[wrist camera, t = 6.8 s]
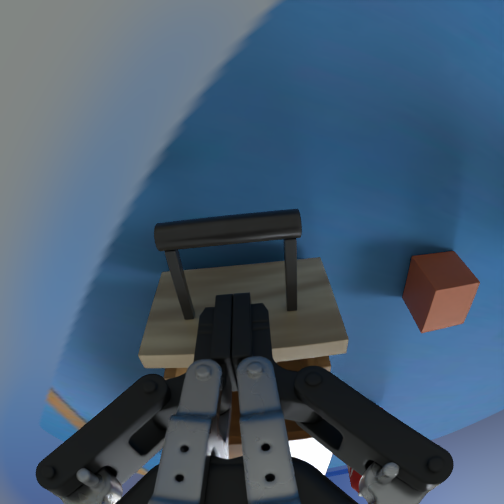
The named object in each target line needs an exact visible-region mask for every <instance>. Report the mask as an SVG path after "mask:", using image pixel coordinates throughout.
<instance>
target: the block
mask: <svg viewBox="0 0 504 504" xmlns="http://www.w3.org/2000/svg"><path fill="white" fill-rule="evenodd" d="M479 284H480V282H479V280H478V279H477V278H476V277H475V275H474V274H473V273H472V272H471V271H470V269H469V268H468V267H467V266H466V265H465V263H464V262H463V261H462V260H461V259H460V257H459V256H458V255H457V254H456V253H455V252H454V251H449V252H441V253H433V254H425V255H416V256H412V257H411V262H410V267H409V271H408V276H407V280H406V284H405V288H404V292H403V296H402V298H403V300H404V302H405V304H406V305H407V307H408V309H409V311H410V313H411V315H412V316H413V318H414V320H415V322H416V324H417V326H418V328H419V330H420V332H421V333H424V332H429V331H433V330H438V329H442V328H446V327H450V326H455V325H459V324H462V323H464V321H465V318H466V316H467V314H468V311H469V309H470V307H471V304H472V302H473V299H474V297H475V294H476V292H477V289H478V286H479Z"/></svg>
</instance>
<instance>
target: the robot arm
mask: <svg viewBox="0 0 504 504" xmlns="http://www.w3.org/2000/svg"><path fill="white" fill-rule="evenodd" d="M232 391H238V395H239V406H240V418H239V419H240V432H241V442H242V452H243V456H240V457H236V458H232V459H229V450H228V442H229V432H230V422H231V413H232V404H231V403H232ZM284 419H287V420H292V421H295V422H296V424H297V425H298V426H300V427H301V428H302V429H303V430H304V431H306V432H307V433H308V434H309V435H310V436H312V437H313V438H314V439H315V440H316V441H318V442H319V443H320V444H321V445H323V446H324V447H325V448H326V449H328V450H329V451H330V452H331V453H333V454H334V455H335V456H337V457H338V458H339V459H340V460H342V461H343V462H344V463H346V464H347V465H348V466H350V467H351V468H352V469H353V470H355V471H356V472H358V473H359V474H360V475H362V477H361V479H360V481H359V491H360V493H361V495H362V496H363V497H364V498H365V499H366V500H367V502H368V504H419V503H420V501H421V500H422V499H423V498H424V496H425V495H426V494H427V493H428V492H429V491H431V490H432V489H434V488H435V487H436V486H438V485H439V484H441V483H442V482H443V481H445V480H446V479H447V478H448V477H449V476H450V474H451V472H452V470H453V459H452V457H451V455H450V453H448V451H446V450H445V449H443V448H442V447H440V446H439V445H437V444H435V443H434V442H432V441H431V440H429V439H428V438H426V437H424V436H423V435H421V434H420V433H418V432H417V431H415V430H414V429H412V428H411V427H409V426H408V425H406V424H404V423H403V422H401V421H400V420H398V419H397V418H395V417H394V416H392V415H391V414H389V413H388V412H387V411H385V410H384V409H382V408H381V407H379V406H378V405H376V404H375V403H373V402H372V401H370V400H369V399H367V398H366V397H365V396H363V395H362V394H360V393H359V392H357V391H356V390H354V389H353V388H352V387H350V386H349V385H347V384H346V383H344V382H343V381H342V380H340V379H339V378H337V377H336V376H335V375H333V374H332V373H330V372H329V371H328V370H326V369H325V368H323V367H320V366H307V367H305V368H302V369H301V370H300V371H298V372H297V371H291V370H287V369H284V368H282V367H280V366H279V365H277V364H276V362H275V361H274V359H273V355H272V345H271V334H270V323H269V312H268V309H267V308H266V307H265V305H264V304H263V303H255V304H252V302H251V295H250V292H247V293H235V294H224V295H216V298H215V307H205V309H204V310H203V312H202V313H201V314H200V316H199V323H198V331H197V338H196V346H195V354H194V361H193V363H192V364H191V365H190V366H189V367H188V369H187V371H186V372H185V373H184V374H182V375H180V376H178V377H174V378H171V379H167V380H165V379H164V378H163V377H162V376H160V375H157V374H148V375H145V376H143V377H141V378H140V379H139V380H137V381H136V382H135V383H134V384H133V385H132V386H130V387H129V388H128V389H127V390H126V391H125V392H123V393H122V394H121V395H120V396H119V397H117V398H116V399H115V400H114V401H113V402H112V403H110V404H109V405H108V406H107V407H106V408H104V409H103V410H102V411H101V412H100V413H99V414H97V415H96V416H95V417H94V418H93V419H91V420H90V421H89V422H88V423H87V424H85V425H84V426H83V427H82V428H81V429H79V430H78V431H77V432H76V433H75V434H73V435H72V436H71V437H70V438H69V439H67V440H66V441H65V442H64V443H63V444H61V445H60V446H59V447H58V448H57V449H55V450H54V451H53V452H52V453H50V454H49V455H48V456H47V457H46V458H45V459H43V460H42V461H41V462H40V463H39V464H38V466H37V469H36V478H37V481H38V483H39V484H40V485H41V486H42V487H43V488H45V489H47V490H49V491H50V492H52V493H53V494H54V495H56V496H58V497H59V498H60V499H61V500H62V501H63V503H64V504H358V503H357V502H356V501H355V500H353V499H352V498H351V497H350V496H348V495H347V494H346V493H345V492H344V491H342V490H341V489H340V488H339V487H337V486H336V485H335V484H334V483H333V482H332V481H331V480H329V479H328V478H327V477H326V476H325V475H324V474H323V473H321V472H320V471H319V470H318V469H317V468H316V467H314V466H313V465H311V464H310V463H308V462H306V461H304V460H301V459H299V458H295V457H291V452H290V447H289V441H288V436H287V431H286V425H285V420H284ZM162 448H163V450H162V454H161V459H160V464H158V465H156V466H155V467H154V468H152V469H151V470H150V471H149V472H148V473H147V474H146V475H145V476H144V477H143V478H142V479H141V480H140V481H138V482H137V483H136V485H134V486H133V487H132V488H131V489H130V490H129V491H128V492H127V493H126V494H125V495H124V496H123V497H122V493H123V489H122V484H123V483H124V482H126V481H127V480H128V479H129V478H130V477H131V476H132V475H134V474H135V473H136V472H137V471H138V470H139V469H140V468H141V467H142V466H143V465H145V464H146V463H147V462H148V461H149V460H150V459H151V458H152V457H153V456H154V455H155V454H156V453H158V452H159V451H160V450H161V449H162Z"/></svg>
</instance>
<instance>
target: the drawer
mask: <svg viewBox="0 0 504 504" xmlns="http://www.w3.org/2000/svg"><path fill="white" fill-rule="evenodd" d="M301 234H302V226H301V217H300V212H299V210H298V209H289V210H278V211H267V212H256V213H246V214H236V215H227V216H217V217H208V218H199V219H190V220H181V221H173V222H165V223H157V224H156V225H155V229H154V239H155V244H156V247H157V249H158V250H159V251H165V255H166V259H167V263H168V266H169V270H170V271H169V272H162V274H161V277H160V280H159V284H158V287H157V290H156V293H155V297H154V300H153V303H152V307H151V310H150V314H149V317H148V321H147V324H146V328H145V331H144V335H143V339H142V342H141V346H140V350H139V354H138V356H139V358H140V360H141V362H142V364H143V366H144V368H165V372H164V379H165V380H167V379H171V378H174V377H178V376H180V375H182V374H184V373H185V372H186V371H187V369H188V367H189V366H190V365H191V364H192V363H193V361H194V354H195V346H196V338H197V331H198V323H199V316H200V314H201V313H202V312H203V310H204V309H205V307H215V298H216V295H224V294H235V293H247V292H250V295H251V302H252V304H255V303H263V304H264V305H265V307H266V308H267V309H268V312H269V323H270V334H271V345H272V355H273V359H274V361H275V362H276V364H277V365H279V366H280V367H282V368H284V369H287V370H291V371H297V372H298V371H300V370H301V369H302V368H305V367H307V366H320V367H323V368H325V369H326V370H328V371H329V372H330V369H331V364H330V360H329V355H336V354H343V353H346V351H347V345H348V340H349V339H348V336H347V333H346V330H345V327H344V324H343V321H342V318H341V315H340V312H339V309H338V306H337V303H336V300H335V297H334V294H333V291H332V289H331V286H330V283H329V280H328V277H327V274H326V272H325V269H324V266H323V263H322V261H321V258H320V257H318V258H308V259H298V260H297V240H296V238H300V237H301ZM280 239H283V242H284V261H277V262H267V263H256V264H246V265H235V266H224V267H214V268H203V269H192V270H183V267H182V263H181V259H180V255H179V251H178V249H187V248H197V247H207V246H217V245H228V244H238V243H248V242H259V241H269V240H280ZM231 404H232V413H231V422H230V432H229V436H241V432H240V419H239V418H240V406H239V395H238V391H232V403H231ZM284 420H285V425H286V431H287V432H293V431H301V430H303V429H302V428H301V427H300V426H298V425H297V424H296V422H295V421H292V420H287V419H284Z"/></svg>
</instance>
